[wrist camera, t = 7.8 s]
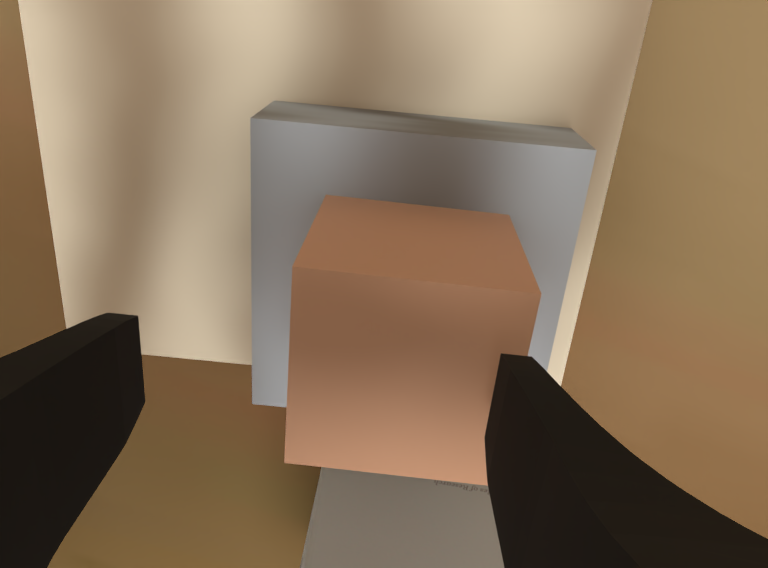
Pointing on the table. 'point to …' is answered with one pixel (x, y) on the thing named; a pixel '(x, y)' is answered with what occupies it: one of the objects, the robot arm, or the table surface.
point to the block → (402, 336)
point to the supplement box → (399, 523)
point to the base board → (220, 72)
